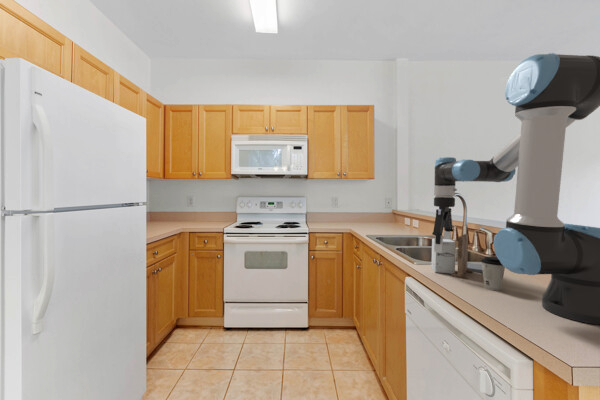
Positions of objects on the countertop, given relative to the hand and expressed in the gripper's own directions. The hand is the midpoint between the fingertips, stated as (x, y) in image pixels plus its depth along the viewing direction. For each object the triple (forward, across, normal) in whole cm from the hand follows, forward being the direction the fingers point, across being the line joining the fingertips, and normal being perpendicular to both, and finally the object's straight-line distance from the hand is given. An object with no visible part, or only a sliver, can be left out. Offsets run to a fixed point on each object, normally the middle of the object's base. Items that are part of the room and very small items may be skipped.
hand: (442, 249), depth 117 cm
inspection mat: (+9, +12, -11) cm, 18 cm away
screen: (+8, 0, -7) cm, 11 cm away
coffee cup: (+8, -12, -18) cm, 24 cm away
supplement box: (+9, 0, 0) cm, 9 cm away
